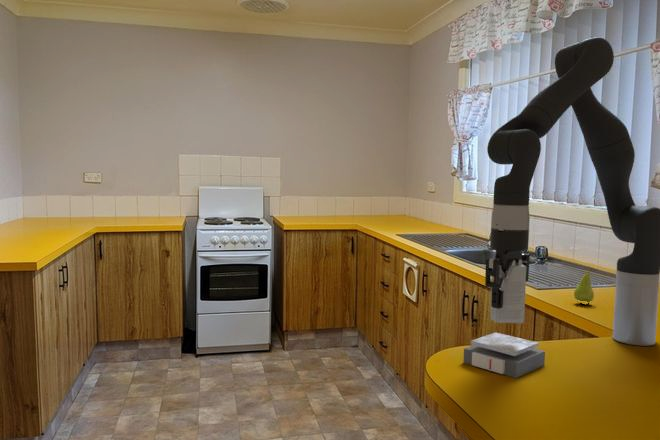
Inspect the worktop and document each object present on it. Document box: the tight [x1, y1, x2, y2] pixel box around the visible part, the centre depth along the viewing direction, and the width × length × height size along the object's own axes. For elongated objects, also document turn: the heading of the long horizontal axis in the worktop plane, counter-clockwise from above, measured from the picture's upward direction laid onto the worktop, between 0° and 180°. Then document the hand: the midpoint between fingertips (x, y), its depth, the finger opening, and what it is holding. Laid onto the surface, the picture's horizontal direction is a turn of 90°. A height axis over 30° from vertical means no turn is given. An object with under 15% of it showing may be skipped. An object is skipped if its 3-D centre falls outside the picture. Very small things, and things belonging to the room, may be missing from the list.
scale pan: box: [470, 331, 539, 356], centre depth 114 cm, size 10×10×1 cm
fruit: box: [573, 267, 595, 302], centre depth 173 cm, size 6×6×12 cm
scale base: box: [463, 345, 546, 379], centre depth 114 cm, size 13×12×3 cm
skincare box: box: [489, 265, 527, 324], centre depth 113 cm, size 6×4×12 cm
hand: (506, 305), depth 114 cm, fingers closed on skincare box, 7 cm apart
